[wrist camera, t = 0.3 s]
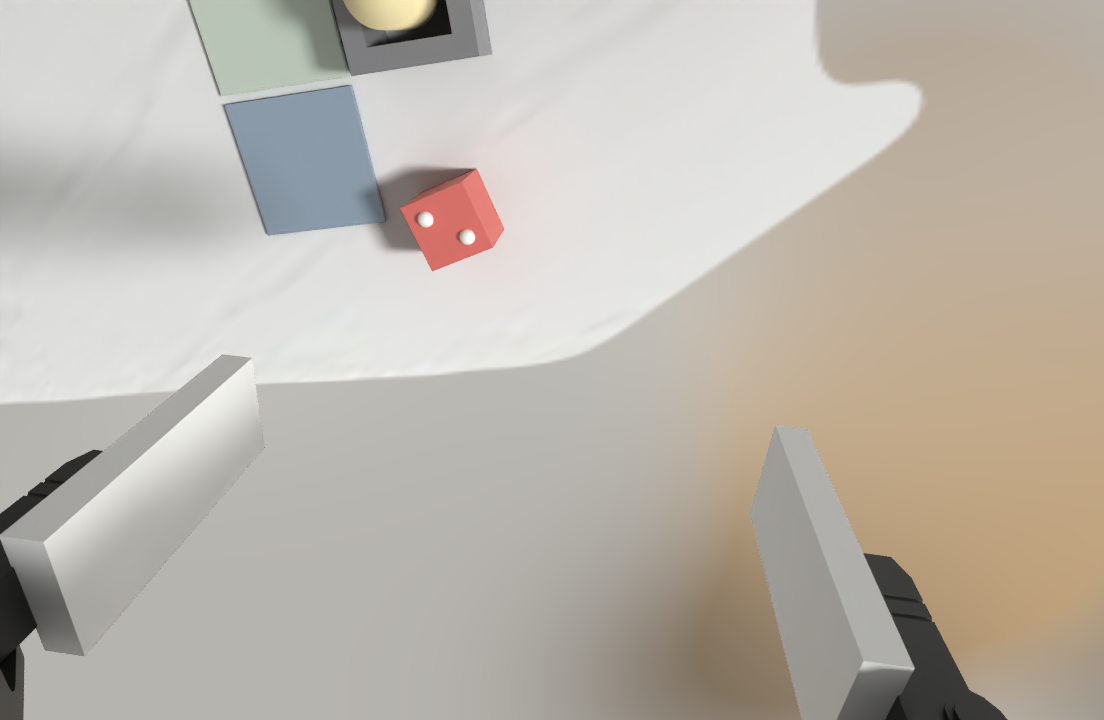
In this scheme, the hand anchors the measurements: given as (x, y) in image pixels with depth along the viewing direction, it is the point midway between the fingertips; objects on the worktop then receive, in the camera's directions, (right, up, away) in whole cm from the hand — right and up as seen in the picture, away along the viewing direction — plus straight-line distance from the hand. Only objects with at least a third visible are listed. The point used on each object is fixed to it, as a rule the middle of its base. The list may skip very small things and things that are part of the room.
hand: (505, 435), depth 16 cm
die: (-4, +11, +24) cm, 27 cm away
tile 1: (-15, +22, +20) cm, 33 cm away
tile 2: (-14, +14, +24) cm, 31 cm away
